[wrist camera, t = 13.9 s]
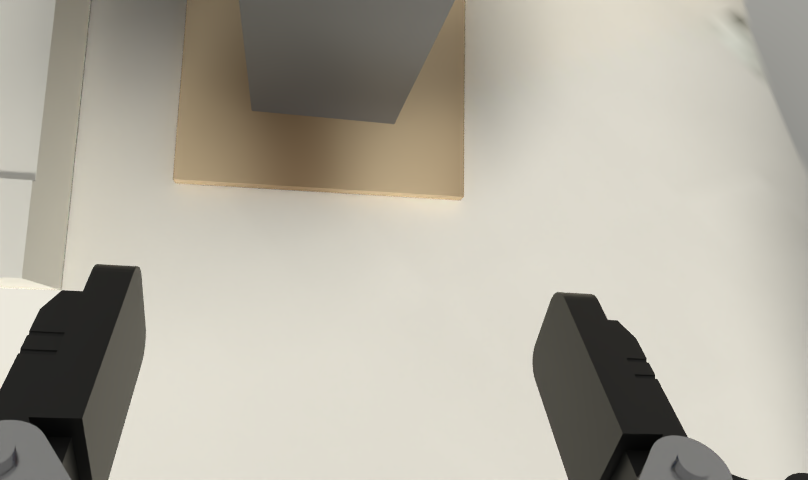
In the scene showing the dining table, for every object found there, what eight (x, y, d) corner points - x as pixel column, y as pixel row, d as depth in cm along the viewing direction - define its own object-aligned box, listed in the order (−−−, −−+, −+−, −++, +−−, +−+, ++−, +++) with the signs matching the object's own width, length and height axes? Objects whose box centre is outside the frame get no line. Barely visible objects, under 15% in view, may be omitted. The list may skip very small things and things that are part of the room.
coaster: (461, -51, 24) (465, -59, 24) (459, 200, 23) (463, 196, 22) (196, -83, 23) (194, -93, 23) (175, 183, 21) (172, 179, 21)
